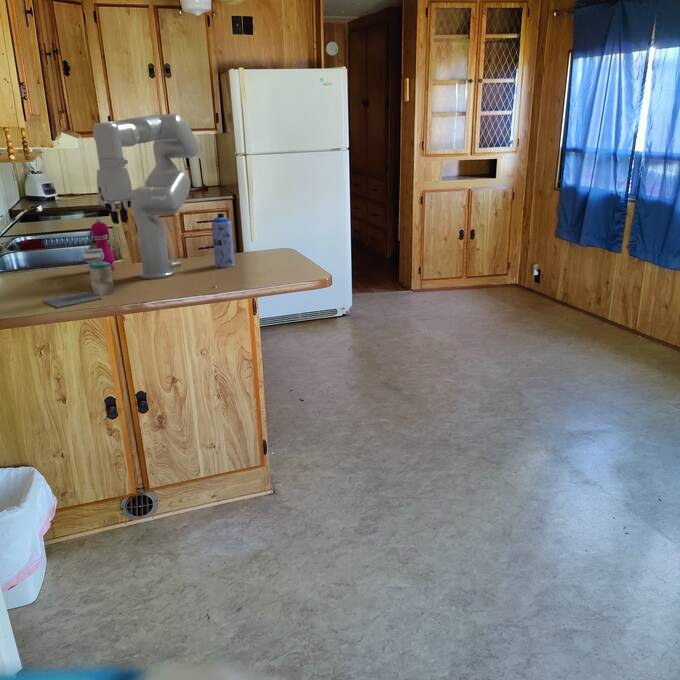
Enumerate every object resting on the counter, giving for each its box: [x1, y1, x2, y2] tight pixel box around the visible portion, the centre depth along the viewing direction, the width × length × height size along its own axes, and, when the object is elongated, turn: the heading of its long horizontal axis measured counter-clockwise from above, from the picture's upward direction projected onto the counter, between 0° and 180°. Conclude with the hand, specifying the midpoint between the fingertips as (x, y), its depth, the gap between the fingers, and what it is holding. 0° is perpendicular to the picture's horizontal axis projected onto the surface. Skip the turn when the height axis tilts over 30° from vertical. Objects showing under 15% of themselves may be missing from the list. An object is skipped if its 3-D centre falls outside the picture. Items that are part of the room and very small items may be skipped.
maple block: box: [88, 262, 116, 298], centre depth 198 cm, size 5×5×10 cm
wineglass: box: [82, 247, 104, 286], centre depth 211 cm, size 7×7×12 cm
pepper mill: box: [90, 217, 115, 272], centre depth 232 cm, size 7×7×20 cm
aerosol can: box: [211, 213, 236, 268], centre depth 233 cm, size 8×8×20 cm
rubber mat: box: [42, 291, 103, 309], centre depth 192 cm, size 14×12×1 cm
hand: (120, 222), depth 198 cm, fingers closed
